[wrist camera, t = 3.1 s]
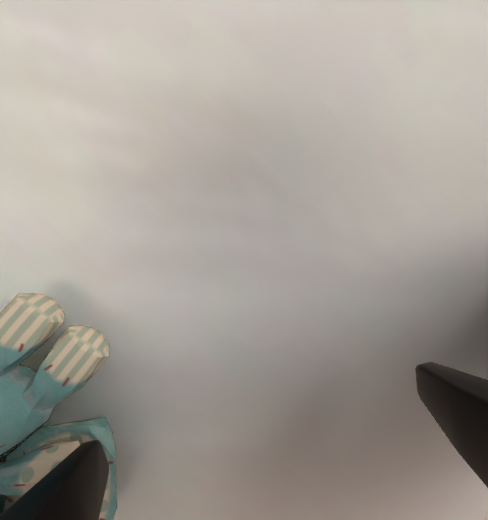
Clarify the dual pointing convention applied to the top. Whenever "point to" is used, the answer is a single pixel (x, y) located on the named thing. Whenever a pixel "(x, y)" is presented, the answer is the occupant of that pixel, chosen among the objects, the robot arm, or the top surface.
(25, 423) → the stuffed animal
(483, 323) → the top surface
